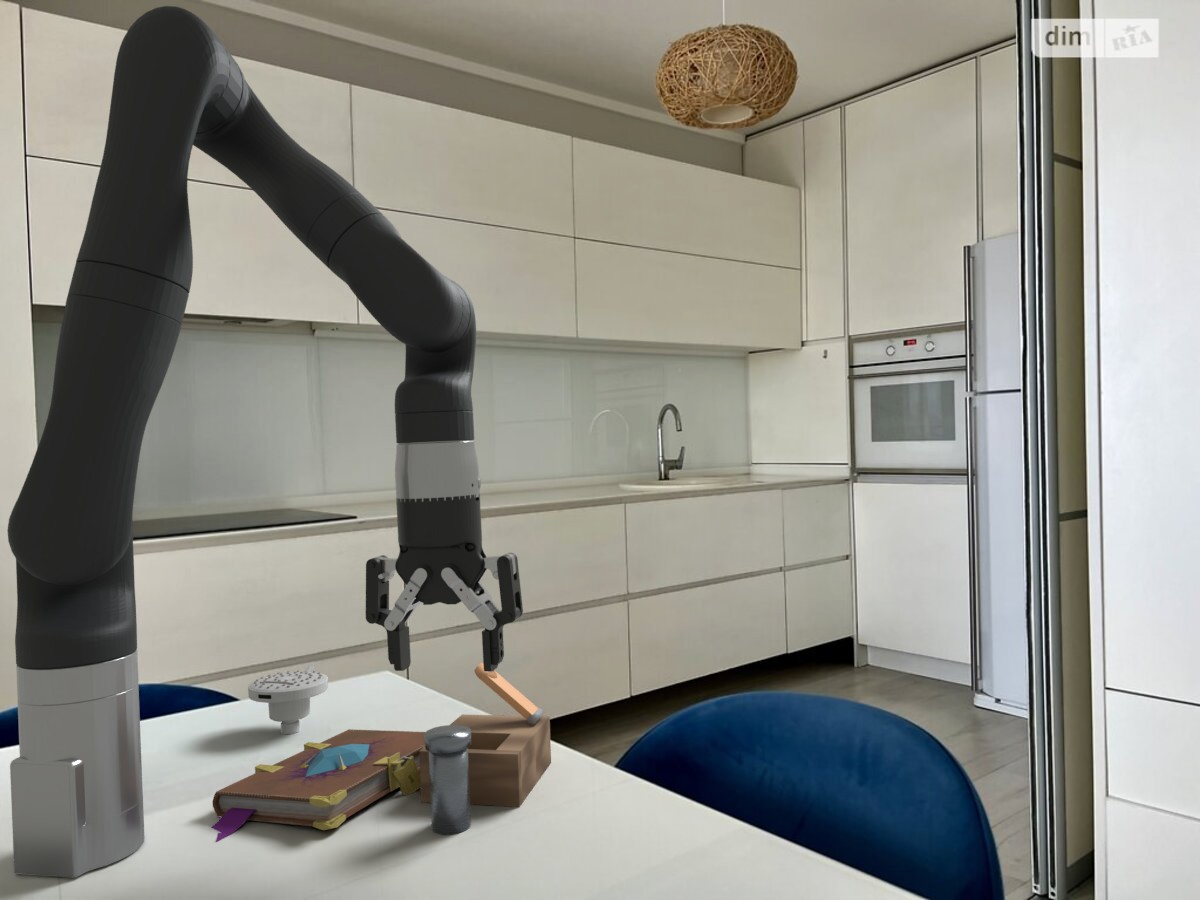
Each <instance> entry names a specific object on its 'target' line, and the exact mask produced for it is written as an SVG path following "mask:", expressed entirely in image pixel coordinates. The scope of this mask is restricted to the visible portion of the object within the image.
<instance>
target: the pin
mask: <svg viewBox="0 0 1200 900" xmlns="http://www.w3.org/2000/svg"><path fill="white" fill-rule="evenodd" d="M424 732H425V734H424V740H425V749H426V750H427V751H429V768H430V795H431V803H430V813H431V814H430V819H431V831H432V832H433V833H435V834H437V835H442V836H443V835H444V836H445V835H446V836H447V835H451V836H452V835H456V834H461V833H464V832H465V831H467V830H468V829H470V827H471V825H472V824H471V822H472V821H471V804H470V792H469V765H468V747H470V746H471V744H472V742H471V729H470V728H469V727H466V726H462V725H450V724H447V725H440V726H436V727H432V728H430V729H428V730H426V731H424Z"/></svg>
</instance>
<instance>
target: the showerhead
mask: <svg viewBox="0 0 1200 900" xmlns="http://www.w3.org/2000/svg"><path fill="white" fill-rule="evenodd" d="M315 667H316V666H315V665H314V663H309V665H308V666H307V667H306V669H305V670H304V671H301V670H298V669H297V670H296V671H291V670H290V671H289V670H287V671H286V672H277V673H276V674H268V675H267V676H261V677H260V678H258V679H257V678H256V679H255V680H254V681H252V682H251V683H249V684H248V686H247V690H248V691H247V692H248V699H250V700H251V701H253V702H257V703H258V702H259V703H267V704H268V717H269V719H270V720H272V721H273V722H279V723H280V731H281V732H280V733H281V734H282V735H291V734H297V733H298V732H300V727H301V726H300V720H302V719H304V718H306V717H308V716H309V715H310V714H311V698H313V697H316V696H319V695H321V694H323V693H325V692H326V691H327V690H328V689H329V677H328V675H326V674H324V673H321V672H318V671H316V670H314V668H315Z"/></svg>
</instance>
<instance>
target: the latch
mask: <svg viewBox="0 0 1200 900" xmlns="http://www.w3.org/2000/svg"><path fill="white" fill-rule="evenodd" d="M474 674H475V675H476V677H477V678H478V679H479V680H480V681H482V683H484V684H485V685H486V686H488V688H490V689H491V690H492V691H493V692H495V693H496V694H497V695H498V696H499V697H500V698H501V699H503V700H504V701H505V702H506V704H508V705H510V707H511V708H512V709H514V710H515V711H516V712H517V713H518V714H520V716H523V717H524V718H525V719H527V721H528V723H529V724H530V725H534V724H536V722H537V721H538V720H539V719H540V718H541V717H542V716H543V715H544V710H543V709H542V708H540V707H538V706H537V705H535V704H534V703H533V702H531V700H529V699H528V698H527V697H526V696H525V695H524V694H523V693H522V692H521V691H519V690H518V689H517V688H516V687H515V686H513V685H512V684H511V683H510V682H508V680H506V678H504V677H503V676H502V675H501V674H499V673H498V672H497V671H496V669H495V670H494V671H484V666H483V662H480V663H478V664H477V666H476V667H475V668H474Z"/></svg>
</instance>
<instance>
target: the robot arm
mask: <svg viewBox="0 0 1200 900" xmlns="http://www.w3.org/2000/svg"><path fill="white" fill-rule="evenodd" d="M120 43H121V44H120V46H119V49H118V52H117V56H116V62H115V67H114V75H113V84H112V89H111V91H112V92H111V96H110V97H111V98H110V99H111V100H110V107H109V108H110V109H109V115H108V120H107V121H108V123H107V130H106V137H105V143H104V149H103V155H102V160H101V164H100V168H99V172H98V175H97V180H96V184H95V187H94V188H95V189H94V191H93V196H92V200H91V204H90V209H89V214H88V217H87V221H86V222H87V223H86V225H85V226H86V227H85V231H84V234H83V237H82V241H81V244H80V248H79V251H78V253H77V257H76V261H75V264H74V269H73V273H72V278H71V280H70V285H69V288H68V293H67V296H66V301H65V304H64V305H65V306H64V309H63V315H62V316H63V317H62V322H61V326H60V333H59V337H58V345H57V350H56V356H55V358H56V359H55V365H54V375H53V385H52V391H51V392H52V393H51V400H50V406H49V409H48V414H47V418H46V422H45V425H44V427H43V431H42V435H41V436H40V437H41V438H40V440H39V442H38V446H37V448H36V451H35V454H34V456H33V460H32V462H31V464H30V468H29V470H28V473H27V475H26V478H25V481H24V483H23V484H22V487H21V490H20V493H19V495H18V497H17V499H16V502H15V504H14V506H13V507H12V509H11V510H12V511H11V513H10V516H9V518H8V524H7V540H8V541H7V542H8V544H9V547H10V550H11V553H12V554H13V556H14V557H15V566H16V567H15V571H16V572H15V574H16V594H17V595H16V598H17V599H16V602H17V605H16V608H17V609H16V623H15V624H16V627H15V638H14V647H15V664H16V667H15V668H16V686H17V687H16V688H17V690H16V691H17V693H16V694H17V716H18V717H17V719H18V743H19V744H18V745H19V746H18V747H19V748H18V749H19V756H18V757H16V758H14V759H12V760H11V762H10V763H9V769H10V773H9V775H10V776H9V777H10V799H11V821H12V822H11V823H12V844H13V845H12V848H13V849H12V850H13V872H14V874H19V875H32V876H45V877H47V876H49V877H62V878H78V877H79V876H82V875H83V874H85V873H87V872H89V871H92V870H95V869H99V868H102V867H106V866H108V865H111V864H113V863H115V862H118V861H120V860H122V859H125V858H126V857H128V856H130V855H131V854H133V853H134V852H136V851H138V850H139V849H140V848H141V847H142V845H143V843H144V842H145V837H146V835H145V817H144V814H145V811H144V794H143V793H144V792H143V771H142V770H143V767H142V766H143V765H142V763H143V762H142V744H141V743H142V742H141V741H142V740H141V738H142V737H141V717H140V696H139V695H140V693H139V691H140V688H139V660H138V629H137V627H138V625H137V604H136V603H137V602H136V601H137V600H136V588H135V561H134V560H135V558H134V557H135V555H134V533H133V532H134V531H133V530H134V529H133V527H134V525H133V511H134V502H135V501H134V500H135V491H136V484H137V475H138V469H139V462H140V461H139V460H140V453H141V450H142V443H143V439H144V435H145V431H146V427H147V424H148V421H149V418H150V415H151V412H152V411H153V408H154V405H155V403H156V400H157V397H158V395H159V392H160V390H161V388H162V385H163V383H164V380H165V377H166V376H167V374H168V373H167V372H168V370H169V367H170V366H171V365H170V364H171V361H172V358H173V356H174V352H175V349H176V347H177V346H176V345H177V342H178V340H179V339H178V338H179V337H180V332H181V329H182V325H183V320H184V316H185V311H186V308H187V304H188V300H189V294H190V291H191V286H192V280H193V270H194V257H193V256H194V254H193V251H194V250H193V241H192V240H193V237H192V229H191V219H190V218H191V217H190V216H191V215H190V206H189V195H188V178H189V177H188V174H189V166H190V159H191V154H192V150H193V147H195V148H196V149H199V150H200V151H201V152H202V153H204V154H206V155H207V156H209V157H210V158H212V159H213V160H214V161H216V162H217V163H219V164H221V165H222V166H223V167H225V168H226V169H228V171H230V172H231V173H232V174H233V175H235V176H236V177H237V178H239V180H240V181H242V182H243V183H244V184H245V185H247V186H248V187H249V188H250V189H251V190H252V191H253V192H254V193H255V194H256V195H257V196H258V197H259V198H260V199H261V200H262V201H263V202H264V203H265V204H266V205H267V206H268V208H269V209H270V210H271V211H272V212H273V213H274V215H276V217H277V218H278V219H279V220H280V222H282V224H284V226H285V227H287V229H288V230H289V231H290V232H291V233H292V234H293V235H294V236H295V238H297V239H298V240H299V241H300V242H301V244H303V246H305V247H306V248H307V249H308V250H309V251H310V252H311V253H312V254H313V255H314V256H315V257H316V258H317V259H318V260H320V262H321V263H322V264H324V266H326V268H328V269H329V270H330V271H331V272H332V273H333V274H334V275H335V276H337V277H338V278H339V279H340V280H341V281H342V282H344V283H345V284H346V285H347V286H348V288H349V289H350V290H351V292H352V293H353V294H354V296H355V297H356V299H357V300H358V301H359V302H360V303H361V304H362V305H363V307H364V308H365V310H367V312H368V313H369V314H370V315H371V316H372V317H373V318H374V319H375V321H376V322H377V323H378V324H379V325H380V326H381V327H383V328H384V329H385V331H387V332H388V334H390V335H391V336H392V337H393V338H395V339H396V340H397V341H399V342H401V343H403V344H404V345H405V361H404V363H405V365H404V366H405V368H404V379H403V381H402V382H400V383H399V385H398V386H397V387H396V390H395V394H394V418H395V419H394V422H395V442H396V445H395V446H396V450H395V452H396V453H395V463H394V479H395V481H394V482H395V502H396V521H397V522H396V523H397V542H398V547H399V552H398V553H399V554H398V557H397V558H388V556H386V555H379V556H376V557H371V558H370V559H368V560H367V561H366V563H365V620H366V622H367V623H368V624H372V625H373V624H377V625H379V626H382V627H383V628H384V630H385V631H386V637H387V657H388V662H389V664H390V665H393V668H394V671H395V672H398V671H399V672H403V671H405V670H407V669H409V668H410V666H411V662H412V661H411V658H412V657H411V641H410V626H406V623H407V622H408V621H409V619H410V617H411V616H412V614H414V611H415V610H416V609H417V608H418V607H419V605H421V604H423V606H428V605H430V606H431V605H435V604H438V603H441V604H444V605H458V604H459V603H463V604H464V606H465V607H466V609H467V610H468V611H469V612H470V613H473V615H475V617H476V618H477V619H478V621H479V622H480V623H481V624H482V626H483V627H484V629H483V630H482V631H481V639H482V640H481V641H482V642H481V644H482V661H483V662H482V663H483V666H484V671H494V670H495V671H496V669H497V668H498V666H499V664H500V663H502V662H503V661H504V656H505V649H504V647H505V646H504V630H503V629H504V626H505V625H507V624H511V623H513V622H515V621H516V620H517V619H518V618H520V617H522V616H523V613H524V609H523V600H522V599H523V598H522V589H521V579H520V571H519V563H518V561H519V560H518V556H517V555H516V554H515V553H514V552H508V553H505V554H503V555H493V556H487V554H485V551H484V549H483V536H482V535H483V534H482V513H481V492H480V490H481V478H480V473H479V461H478V457H477V452H476V444H475V441H474V440H475V428H474V426H475V425H474V412H473V411H474V407H473V397H472V383H473V377H474V369H475V367H474V366H475V356H476V348H477V347H476V344H477V322H476V314H475V309H474V305H473V302H472V300H471V297H470V295H469V294H468V292H467V291H466V289H464V288H463V287H462V285H460V284H459V283H457V282H456V281H454V280H452V279H450V278H449V277H448V276H446V275H444V274H443V273H442V272H441V271H439V270H438V269H437V268H436V267H435V266H433V265H432V264H431V263H430V262H429V261H428V260H426V259H425V258H424V257H423V256H422V255H421V254H420V253H418V251H417V250H416V249H414V248H413V247H412V246H411V245H410V244H409V243H407V242H406V240H404V239H403V238H402V236H401V234H400V232H399V230H398V229H397V228H396V227H395V226H394V224H393V223H392V222H391V221H390V220H389V219H388V217H386V216H385V215H384V214H383V213H382V212H381V211H380V210H379V209H378V208H377V207H375V206H374V204H373V203H372V202H370V201H369V200H368V198H366V197H365V196H364V195H363V194H362V193H361V192H360V191H359V190H358V189H357V188H355V187H354V186H353V185H352V184H351V183H350V182H349V181H348V180H346V179H345V178H344V177H343V176H341V175H340V174H339V173H338V172H336V171H335V170H334V169H332V168H331V167H330V166H328V165H327V164H326V163H325V162H322V161H321V160H320V159H318V158H317V157H316V156H314V155H312V153H310V152H309V151H308V150H306V149H305V148H304V147H302V146H301V145H300V144H299V143H298V142H296V140H295V139H293V138H292V137H291V136H290V135H289V134H288V133H287V132H286V131H285V130H284V129H283V127H281V126H280V124H279V123H278V122H277V121H276V120H275V118H274V117H273V116H272V115H271V113H270V112H269V111H268V109H267V108H266V107H265V105H264V104H263V103H262V102H261V99H260V98H259V97H258V96H257V95H256V93H255V92H254V91H253V89H252V88H251V86H250V85H249V83H248V82H247V81H246V79H245V76H244V73H243V72H242V69H241V67H240V65H239V64H238V63H237V61H236V59H235V58H234V57H233V55H232V54H231V53H230V51H229V50H228V48H226V46H225V45H224V43H223V42H222V40H221V39H220V38H219V37H218V36H217V34H216V33H215V32H214V30H212V28H211V27H210V26H209V25H208V24H207V23H206V22H205V21H203V20H202V19H201V18H200V17H199V16H197V15H196V14H195V13H193V12H192V11H189V10H187V9H185V8H184V7H179V6H173V5H171V6H170V5H164V6H159V7H155V8H153V9H150V10H148V11H146V12H145V13H143V14H142V15H141V16H139V17H138V18H137V19H136V20H135V21H134V22H133V23H132V25H130V26H129V28H128V30H127V32H126V34H125V35H124V37H123V38H122V41H121V42H120ZM487 570H489V571H490V572H491V575H492V577H493V579H495V580H498V586H499V587H498V589H499V598H500V605H501V609H500V608H499V607H498V605H496V604H495V602H494V601H493V598H492V596H491V594H490V593H489V591H488V590H487V589H486V587H485V586H484V585H483V583H482V582H481V581H480V580H481V579H482V578H483V576H484V575H485V572H486V571H487ZM395 572H396V573H397V574H398V576H399V577H400V578H401V580H402V581H403V582H404V584H405V588H404V589H403V590H402V592H401V593H400V594H399V596H398V598H397V599H396V601H395V602H394V606H393V608H392V609H390V581H391V580H392V579H393V578H394V575H395Z"/></svg>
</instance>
